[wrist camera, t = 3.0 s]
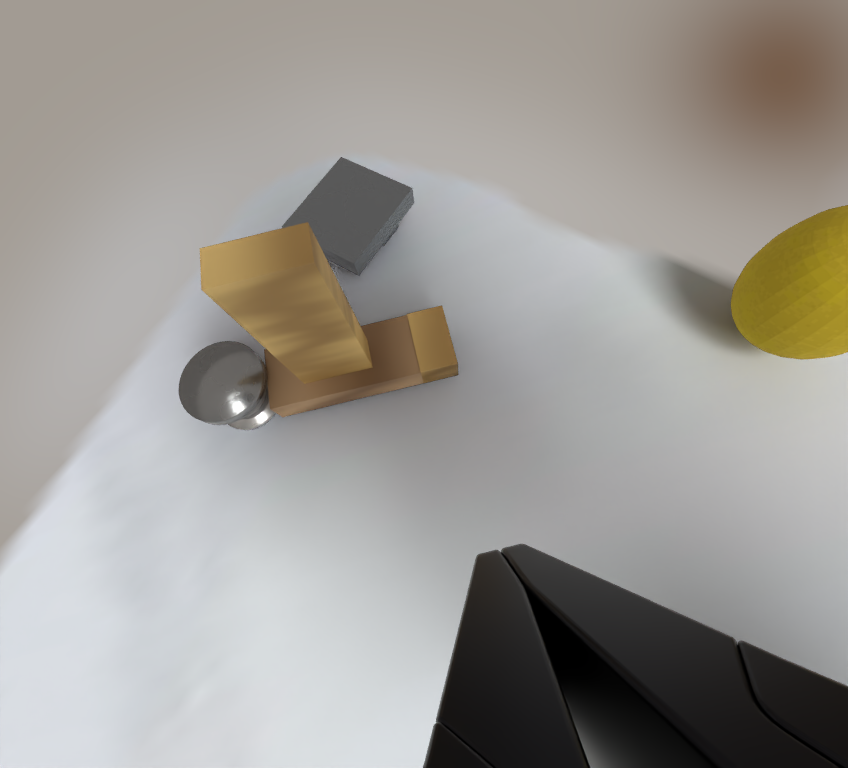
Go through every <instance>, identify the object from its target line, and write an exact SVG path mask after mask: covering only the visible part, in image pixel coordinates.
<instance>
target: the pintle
mask: <svg viewBox="0 0 848 768" xmlns="http://www.w3.org/2000/svg"><path fill="white" fill-rule="evenodd" d="M179 396H180V400H181V403H182V405H183V407H184V408H185V410H186V411H187V412H188V413H189V414H190V415H191V416H193V417H195V418H196V419H199V420H201V421H204V422H206V423H209V424H213V425H226V424H228V425H230V426H231V427H234V428H236V429H240V430H253V429H256V428H259V427H261V426H263V425H265V424H266V423H267V422H269V421H270V420H271V419H272V418H273V417H274V415H275V414H276V413H275V412H274V411H272V410H271V409H270V405H269V394H268V384H267V370H266V367H265V364H264V362H263V361H262V359H261V358H260V357H259V356H258V355H257V354H256V353H255V352H254V351H253V350H251V349H250V348H249V347H247V346H246V345H244V344H241V343H238V342H232V341H225V342H218V343H215V344H212V345H210V346H207V347H206V348H204V349H202V350H201V351H199V352H198V353H197V354H196V355H195V356H194V357H193V358H192V359H191V360H190V361H189V362H188V364H187V365H186V367H185V369H184V370H183V373H182V375H181V378H180V383H179Z"/></svg>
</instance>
